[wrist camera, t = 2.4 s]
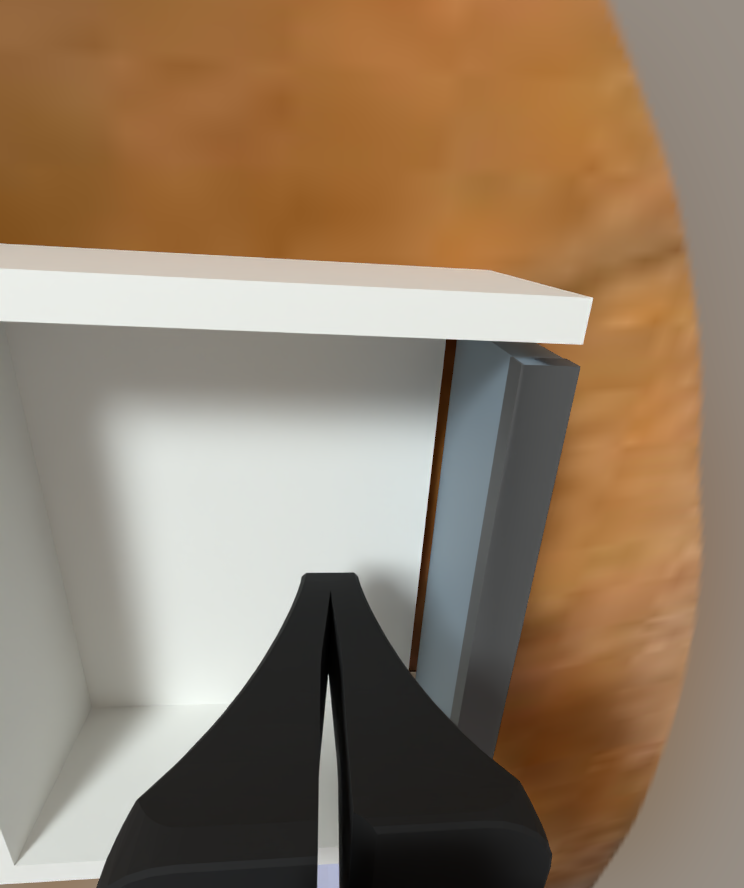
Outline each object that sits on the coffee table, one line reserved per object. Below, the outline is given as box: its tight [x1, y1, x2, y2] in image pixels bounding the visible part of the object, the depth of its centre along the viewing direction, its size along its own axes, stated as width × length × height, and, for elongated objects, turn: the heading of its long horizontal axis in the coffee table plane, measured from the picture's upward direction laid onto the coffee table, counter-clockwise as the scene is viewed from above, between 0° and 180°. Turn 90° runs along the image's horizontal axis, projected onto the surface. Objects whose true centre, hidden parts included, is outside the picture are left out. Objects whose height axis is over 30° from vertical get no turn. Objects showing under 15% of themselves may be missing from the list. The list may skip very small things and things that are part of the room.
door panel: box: [415, 339, 580, 759], centre depth 14 cm, size 14×1×5 cm, turn 177°
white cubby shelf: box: [0, 244, 593, 884], centre depth 14 cm, size 16×13×6 cm
